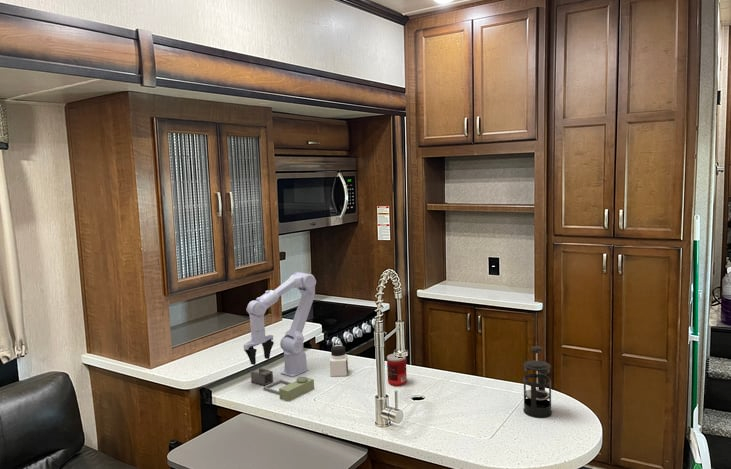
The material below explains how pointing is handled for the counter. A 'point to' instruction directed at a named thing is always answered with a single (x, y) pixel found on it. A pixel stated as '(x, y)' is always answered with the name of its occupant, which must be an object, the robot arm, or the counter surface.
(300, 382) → the grey frame stand
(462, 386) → the counter surface
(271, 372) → the chute
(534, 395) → the french press
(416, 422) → the counter surface
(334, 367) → the medicine bottle
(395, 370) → the canned food
